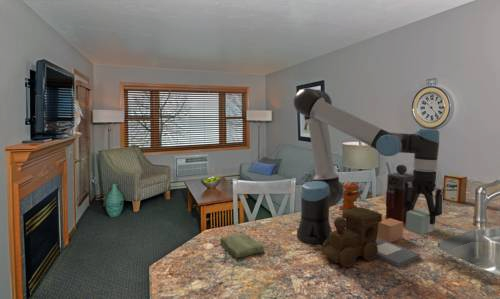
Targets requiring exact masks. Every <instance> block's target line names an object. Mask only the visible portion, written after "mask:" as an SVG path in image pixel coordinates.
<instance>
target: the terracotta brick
mask: <svg viewBox="0 0 500 299" xmlns="http://www.w3.org/2000/svg"><path fill="white" fill-rule="evenodd" d="M403 236H404V224H403V222H401V221H398V220H395V219H391V218H389V219H386V218H385V219H382V222H379V223H378V234H377V237H378V238H380V239H383V240H385V241H388V242H390V243H393V242H395V241H397V240H401V239H403ZM400 238H401V239H400Z"/></svg>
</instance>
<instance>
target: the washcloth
mask: <svg viewBox="0 0 500 299" xmlns="http://www.w3.org/2000/svg"><path fill="white" fill-rule="evenodd" d="M219 243H220V245H221V246H222V247H223V248H224V249H226V251H228V252H229V253H230V254H231V255H232V256H233V257H234V258H235V259H240V258H243V257H244V258H245V257H249V256H251V255H257V254H263V253H264V251H265V248H264V245H263V244H261V243H260V242H258V241H257V240H256V239H255V238H253V237H251V235H250V234H247V233H240V234H232V235H229V236H221V237H220V242H219Z"/></svg>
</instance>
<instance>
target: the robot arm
mask: <svg viewBox="0 0 500 299" xmlns="http://www.w3.org/2000/svg"><path fill="white" fill-rule="evenodd" d="M293 97H294V98H293V107H294V108H295V110H296V112H298V113H299V114H301V115H302V116H303V117H304V121H305V123H307V124H308V130H309V136H310V144H311V151H312V159H313V166H314V173H315V175H314V176H313V178H312V181H307V182H305V183H304V184H302V186H301V189H300V190H301V191H300V198H301V199H300V222H299V225H298V228H297V230H296V237H297V239H298V240H300V241H301V242H303V243H307V244H312V245H323V243H324V242H325V240H327V239H328V238H329V233H330V232H333V230H332V226H331V223H330V219H329V218H330V217H329V216H330V208H331V207H333V206H335V205H337V204H338V203H340V201H341V200H343V194H344V188H343V186H342V185H343V184H342V182H340V178H339V175H338V174H337V173H336V172H335V167H334V160H333V153H332V145H331V138H330V131H329V129H330V128H329V126H330V127H332V128H334V129H336V130H338V131H340V132H342V133H344V134H346V135H347V136H350V137H352V138H354V139H355V140H358V141H359V142H360V143H363V144H365V145H366V146H369V147H370V148H372V149H374V150H376V151H377V152H378V153H379V154H380V155H382V156H384V157H393V156H396V155H398V154H401V153H403V154H414V157H413V168H414V169H413V170H412V175H413V181H412V182H406V183H404V185H405V194H404V201H403V206H404V207H406V208H407V209H408V211H411V210H415V209H416V208H415V206H416V203H417V201H418V198H419V197H420V195H424V198H425V200H426V204H427V209H428V211H429V214H430V215H427V226H426V232H427V233H426V234H429V233H432V232H433V231H432V225H433V224H436V217H439V216H441V215H443V192H444V189H443V188H439V187H437V184H436V181H437V172H436V170H437V168H438V157H439V148H440V131H439V130H438V129H434V128H433V129H432V128H418V129H416V131H415V133H399V132H398V133H397V132H389V131H387V130H385V129H383V128H381V127H379V126H376V125H374V124H372V123H371V122H368V121H366V120H364V119H361V118H360V117H357V116H356V115H353V114H352V113H349V112H347V111H345V110H343V109H341V108H338V107H337V106H334V105H333V102H332V101H333V100H332V98H331V96H330V95H329V94H328V93H327V92H326V91H324V90H321V89H314V88H311V87H310V88H309V87H306V88H302V89H300V90H299V91H298V92H296V93H295V95H294V96H293ZM412 186H413V187H414V191H413V195H412V198H411V200H410V197H411V190H412ZM433 192H434V194H435V196H434V194H433Z"/></svg>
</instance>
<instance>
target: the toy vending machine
mask: <svg viewBox="0 0 500 299" xmlns="http://www.w3.org/2000/svg"><path fill="white" fill-rule="evenodd" d="M395 170H396V172H393V173H388V174H387V178H386V180H387V181H386V183H387V184H386V192H385V193H386V195H385V219H389V218H391V219H395V220H398V221H401V222H403V225H406V215H407V212H408V209H407V208H406V207H404V206H403V201H404V194H405V185H404V183H406V182H412V181H413V173H406V172H407V171H408V169H407V166H406V165H405V164H399V165H397V166H396V168H395ZM413 191H414V187H413V186H412V190H411V197H410V200H411V198H412V195H413Z"/></svg>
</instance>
